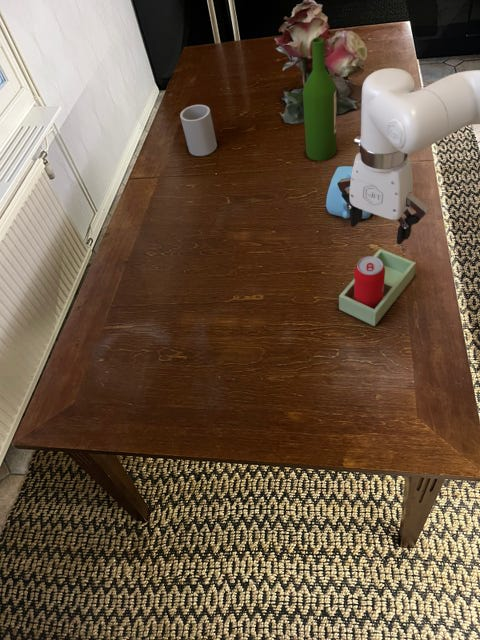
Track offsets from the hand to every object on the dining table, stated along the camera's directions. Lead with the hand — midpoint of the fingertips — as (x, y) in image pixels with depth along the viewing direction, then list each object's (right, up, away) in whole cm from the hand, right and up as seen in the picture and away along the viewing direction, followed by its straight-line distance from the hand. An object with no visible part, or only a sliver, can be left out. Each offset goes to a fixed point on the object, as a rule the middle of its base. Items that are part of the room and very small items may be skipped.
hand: (378, 230), depth 99 cm
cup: (-38, +38, +70) cm, 88 cm away
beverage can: (+3, -13, +20) cm, 24 cm away
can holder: (+5, -10, +22) cm, 25 cm away
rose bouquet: (0, +58, +79) cm, 97 cm away
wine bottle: (-2, +33, +59) cm, 68 cm away
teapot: (+4, +14, +43) cm, 45 cm away
